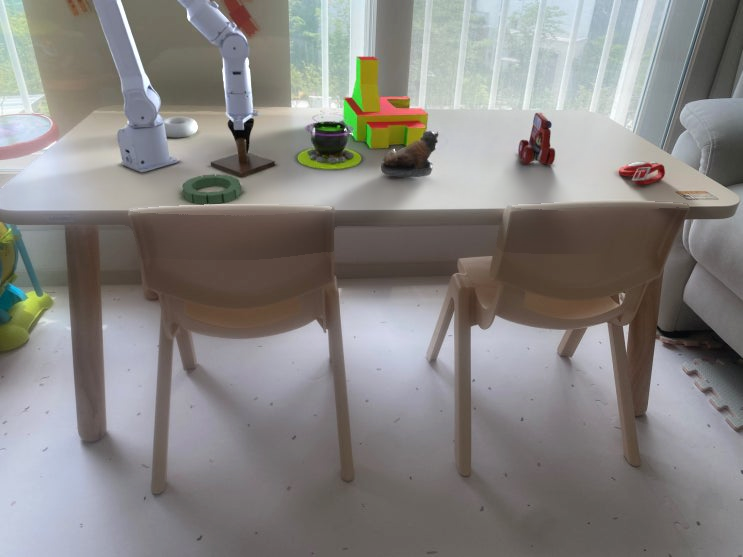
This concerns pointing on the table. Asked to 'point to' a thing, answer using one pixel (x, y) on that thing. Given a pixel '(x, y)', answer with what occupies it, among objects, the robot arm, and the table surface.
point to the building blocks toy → (380, 111)
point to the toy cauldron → (329, 146)
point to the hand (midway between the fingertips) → (243, 152)
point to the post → (242, 161)
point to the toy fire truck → (538, 142)
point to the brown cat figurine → (411, 158)
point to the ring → (211, 197)
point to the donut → (179, 127)
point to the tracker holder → (643, 171)
